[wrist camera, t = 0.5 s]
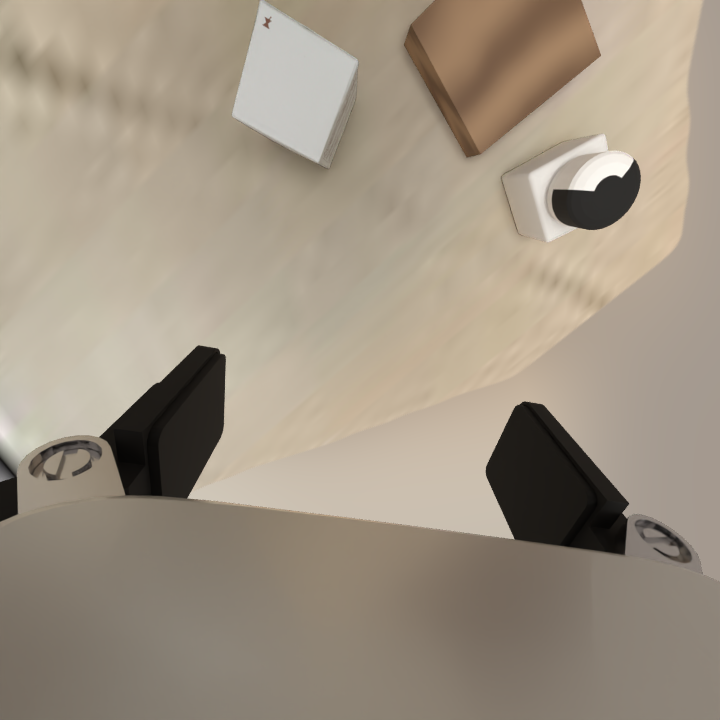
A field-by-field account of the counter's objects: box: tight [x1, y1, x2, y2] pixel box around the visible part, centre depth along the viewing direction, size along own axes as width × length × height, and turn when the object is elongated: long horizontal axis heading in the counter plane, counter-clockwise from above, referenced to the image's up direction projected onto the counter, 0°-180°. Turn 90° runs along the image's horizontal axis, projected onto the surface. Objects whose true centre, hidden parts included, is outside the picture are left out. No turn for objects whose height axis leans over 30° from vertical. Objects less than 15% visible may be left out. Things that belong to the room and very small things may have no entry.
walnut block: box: [404, 0, 601, 157], centre depth 32 cm, size 12×12×5 cm
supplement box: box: [232, 0, 359, 169], centre depth 30 cm, size 7×7×13 cm
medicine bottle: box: [502, 133, 641, 242], centre depth 34 cm, size 7×7×12 cm
